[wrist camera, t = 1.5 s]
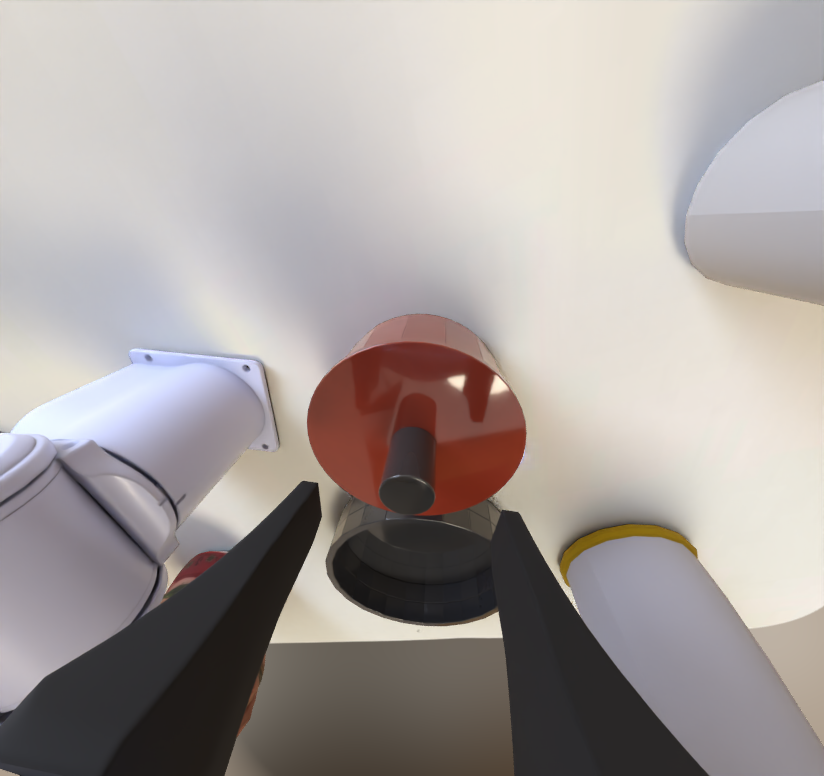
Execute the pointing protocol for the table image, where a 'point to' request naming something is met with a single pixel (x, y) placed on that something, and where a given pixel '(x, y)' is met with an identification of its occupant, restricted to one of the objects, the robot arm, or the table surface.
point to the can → (766, 203)
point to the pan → (416, 563)
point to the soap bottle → (689, 652)
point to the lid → (416, 427)
